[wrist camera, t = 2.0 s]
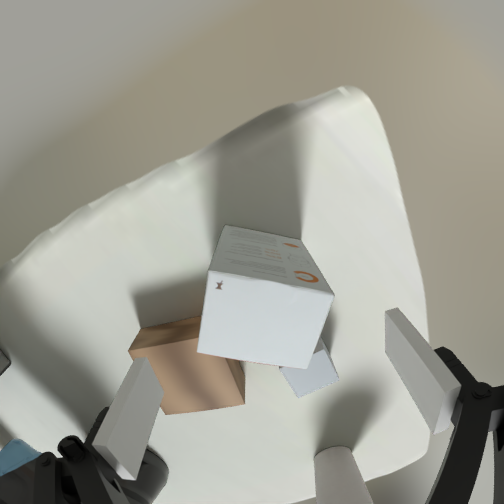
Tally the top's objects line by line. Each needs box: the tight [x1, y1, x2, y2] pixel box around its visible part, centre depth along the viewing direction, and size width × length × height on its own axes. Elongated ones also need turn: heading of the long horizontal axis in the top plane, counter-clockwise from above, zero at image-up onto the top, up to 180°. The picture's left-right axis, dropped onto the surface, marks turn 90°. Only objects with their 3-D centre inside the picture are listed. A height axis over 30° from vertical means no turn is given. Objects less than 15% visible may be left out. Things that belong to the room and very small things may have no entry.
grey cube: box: [279, 336, 339, 398], centre depth 32 cm, size 5×5×5 cm
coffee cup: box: [314, 446, 373, 504], centre depth 34 cm, size 10×10×15 cm
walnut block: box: [128, 316, 245, 415], centre depth 33 cm, size 10×10×5 cm
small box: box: [197, 225, 335, 369], centre depth 25 cm, size 8×6×13 cm
